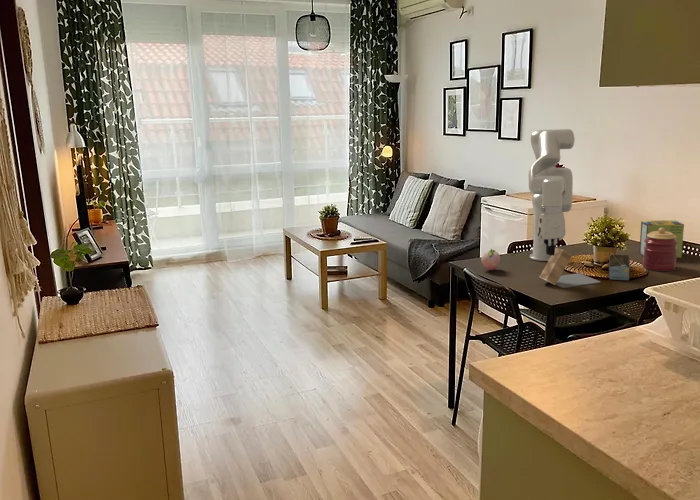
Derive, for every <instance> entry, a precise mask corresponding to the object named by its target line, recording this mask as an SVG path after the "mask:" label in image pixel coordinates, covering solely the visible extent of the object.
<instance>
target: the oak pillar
mask: <svg viewBox="0 0 700 500" xmlns="http://www.w3.org/2000/svg"><path fill="white" fill-rule="evenodd" d="M572 258H573V254H572V253H569V252H568V251H566V250H565V249H563V248H559V247H556V246H555V252H554V255H551V257H550V259H549V261H546V262H547V263H546V265H545V266H544V268H543V270H542V271H541V274H540V275H539V278H540V279H542V280H544V281H546V282H547V283H550V284H551V285H554V286H557V285H556V283H557V281H558V280H559V278H560V276H562V275H563V273H564V271H565V269H566V268H567V265H568V264H569V262H570V260H571V259H572Z"/></svg>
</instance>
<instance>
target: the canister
mask: <svg viewBox="0 0 700 500" xmlns="http://www.w3.org/2000/svg"><path fill="white" fill-rule="evenodd" d="M675 238H676V235H674V234H673V233H671V232H667V231H665V229H664V228H659V230H658V231H653V232H651V233H649V234H647V238H646V239H645V240H644V242H645V247H644V256H643V260H642V267H643V268H644V269H647V270H651V271H656V272H671V271H675V270H676V267H677V260H678V258H677V250H678V249H677V244H678V241H677V240H676V239H675Z"/></svg>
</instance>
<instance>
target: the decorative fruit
mask: <svg viewBox="0 0 700 500" xmlns="http://www.w3.org/2000/svg"><path fill="white" fill-rule="evenodd" d="M480 260H481V261H480V262H481V264H482V265H483V267H485V268H486V269H488V270H490V271H494V270H495V269H497V268H498V267H499V266H500V263H501V255H500V253H498V251H496V250H495V249H492V248H490V250H487V251H485V252H484V253H483V254H482V256H481V259H480Z"/></svg>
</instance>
